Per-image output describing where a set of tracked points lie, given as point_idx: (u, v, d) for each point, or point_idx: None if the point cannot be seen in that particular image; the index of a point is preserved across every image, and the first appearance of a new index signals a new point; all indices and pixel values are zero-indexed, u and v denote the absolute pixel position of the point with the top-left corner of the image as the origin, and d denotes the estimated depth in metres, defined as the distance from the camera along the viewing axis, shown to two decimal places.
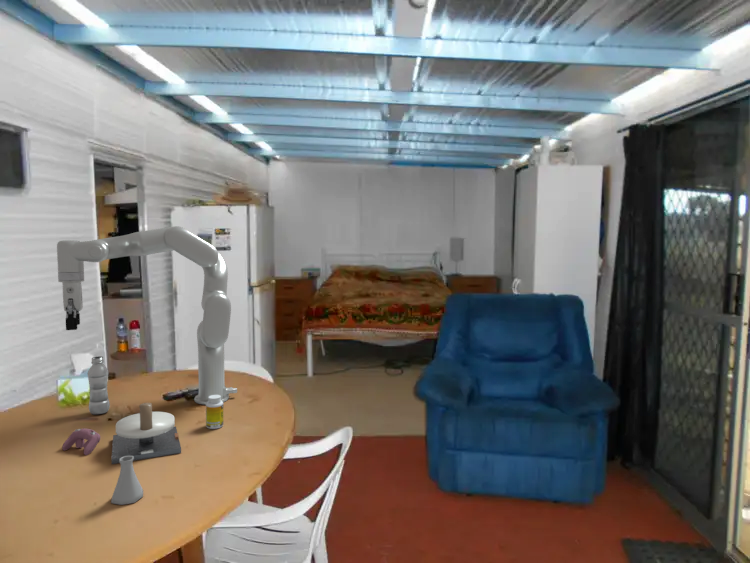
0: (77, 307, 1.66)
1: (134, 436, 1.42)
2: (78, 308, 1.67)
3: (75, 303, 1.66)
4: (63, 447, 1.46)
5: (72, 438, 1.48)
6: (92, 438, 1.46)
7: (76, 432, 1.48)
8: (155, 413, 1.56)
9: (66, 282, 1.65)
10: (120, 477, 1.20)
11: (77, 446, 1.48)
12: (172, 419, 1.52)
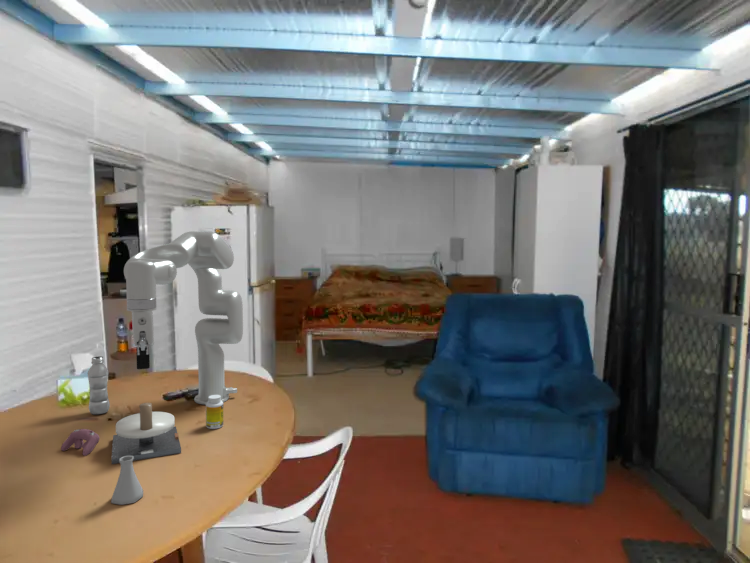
0: (150, 341, 1.38)
1: (134, 436, 1.42)
2: (151, 342, 1.38)
3: (147, 336, 1.38)
4: (62, 447, 1.46)
5: (71, 438, 1.48)
6: (91, 438, 1.46)
7: (75, 432, 1.48)
8: (155, 413, 1.56)
9: (137, 311, 1.37)
10: (120, 477, 1.20)
11: (76, 447, 1.48)
12: (172, 419, 1.52)
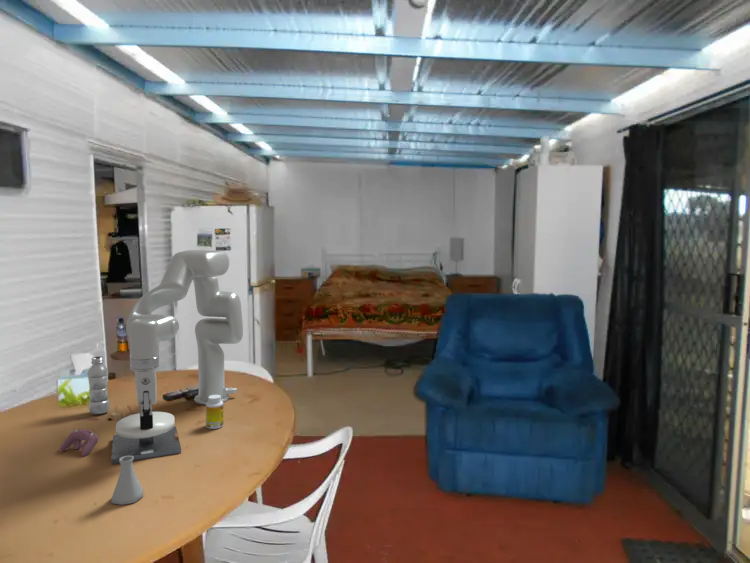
0: (153, 400, 1.39)
1: (134, 436, 1.42)
2: (154, 401, 1.39)
3: (151, 396, 1.39)
4: (61, 448, 1.45)
5: (70, 439, 1.47)
6: (90, 439, 1.45)
7: (74, 433, 1.47)
8: (155, 413, 1.56)
9: (141, 371, 1.38)
10: (120, 477, 1.20)
11: (75, 447, 1.47)
12: (172, 419, 1.52)
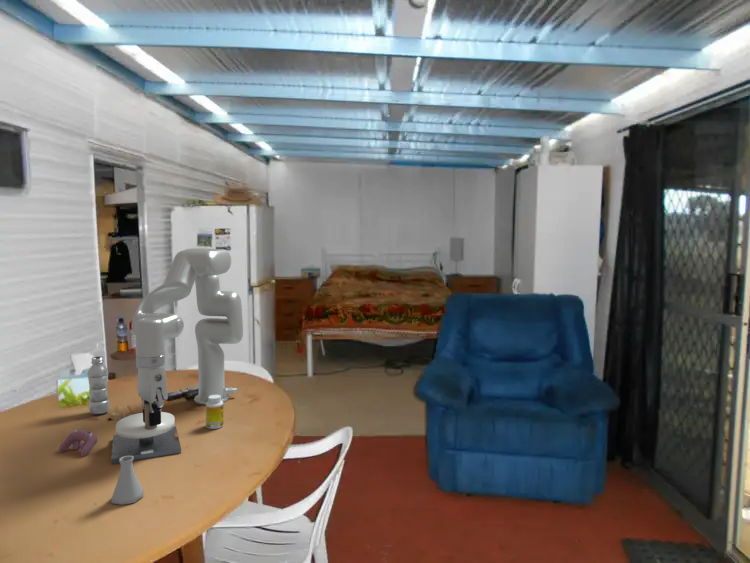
0: (165, 396, 1.42)
1: (140, 436, 1.42)
2: (166, 397, 1.43)
3: (163, 392, 1.42)
4: (60, 449, 1.45)
5: (69, 439, 1.47)
6: (89, 439, 1.45)
7: (73, 433, 1.47)
8: None
9: (152, 369, 1.40)
10: (120, 477, 1.20)
11: (74, 447, 1.47)
12: (172, 417, 1.53)
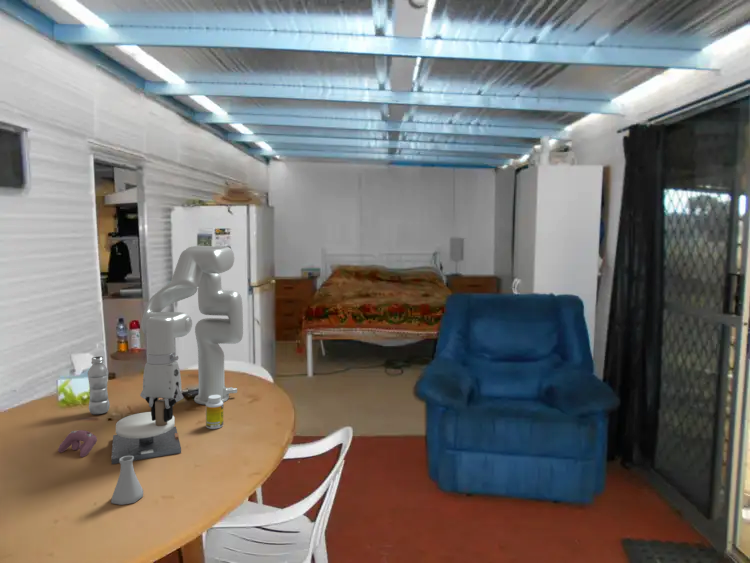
0: (180, 390, 1.48)
1: (156, 433, 1.45)
2: None
3: (179, 386, 1.48)
4: (59, 449, 1.45)
5: (69, 440, 1.47)
6: (88, 439, 1.45)
7: (72, 434, 1.47)
8: (139, 415, 1.55)
9: (171, 365, 1.45)
10: (120, 477, 1.20)
11: (73, 448, 1.47)
12: None
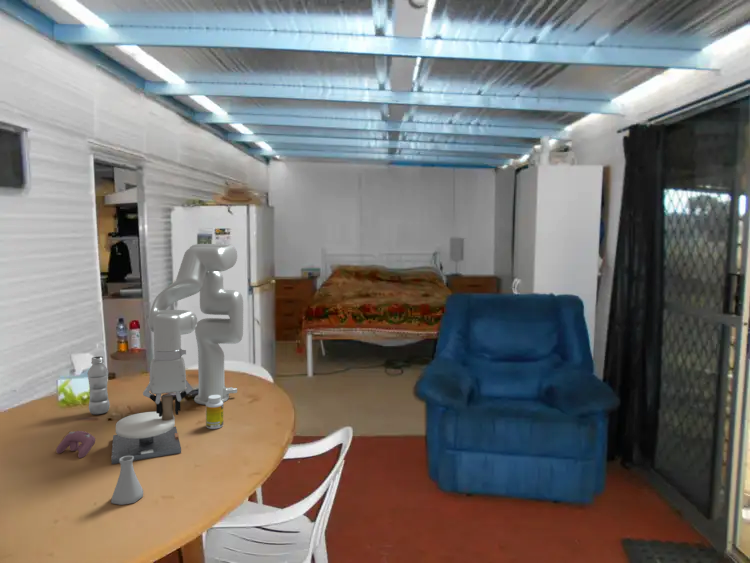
0: None
1: (172, 426, 1.50)
2: None
3: None
4: (57, 450, 1.44)
5: (67, 440, 1.46)
6: (86, 440, 1.44)
7: (70, 435, 1.46)
8: (125, 420, 1.50)
9: (181, 359, 1.52)
10: (120, 477, 1.20)
11: (71, 449, 1.46)
12: (152, 412, 1.57)
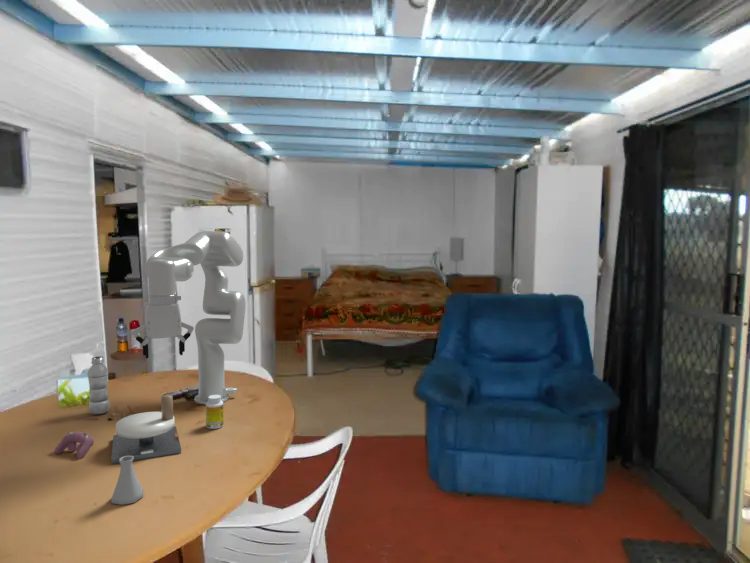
0: None
1: (172, 426, 1.50)
2: None
3: None
4: (55, 451, 1.44)
5: (65, 441, 1.46)
6: (85, 441, 1.43)
7: (69, 435, 1.46)
8: (125, 420, 1.50)
9: (177, 304, 1.53)
10: (120, 477, 1.20)
11: (70, 450, 1.45)
12: (152, 412, 1.57)
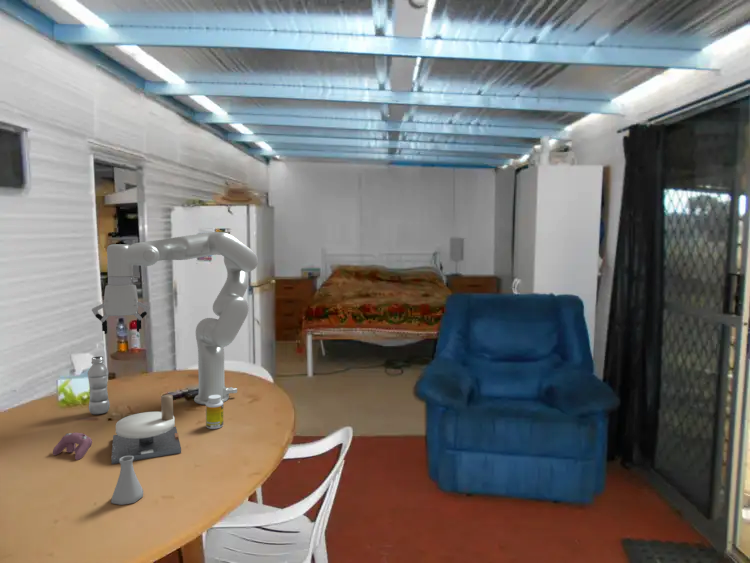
0: None
1: (172, 426, 1.50)
2: None
3: None
4: (53, 452, 1.43)
5: (63, 442, 1.45)
6: (83, 442, 1.43)
7: (67, 436, 1.45)
8: (125, 420, 1.50)
9: (133, 285, 1.68)
10: (120, 477, 1.20)
11: (68, 451, 1.45)
12: (152, 412, 1.57)
